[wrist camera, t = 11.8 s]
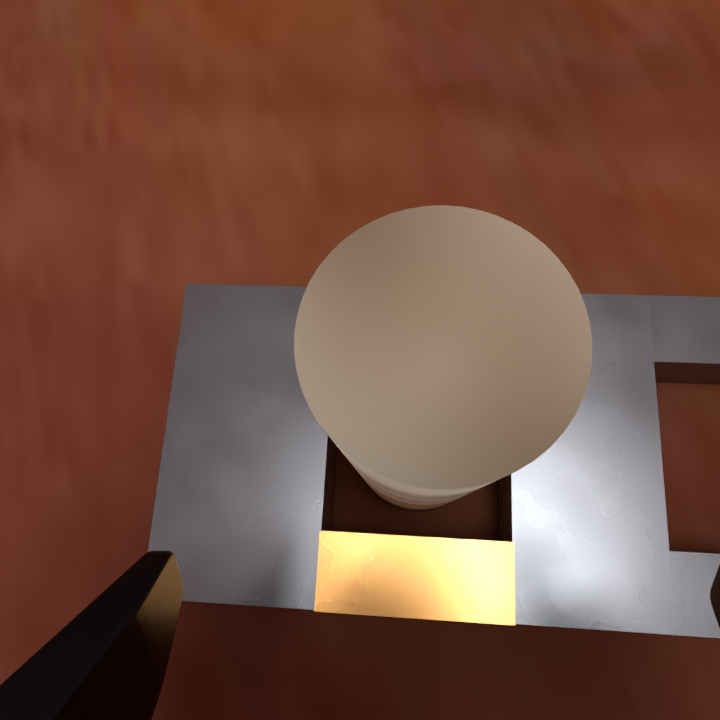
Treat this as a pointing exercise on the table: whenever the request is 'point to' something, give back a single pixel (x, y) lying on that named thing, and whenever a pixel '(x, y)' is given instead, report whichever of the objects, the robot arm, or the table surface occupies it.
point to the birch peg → (441, 352)
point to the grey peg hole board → (419, 552)
